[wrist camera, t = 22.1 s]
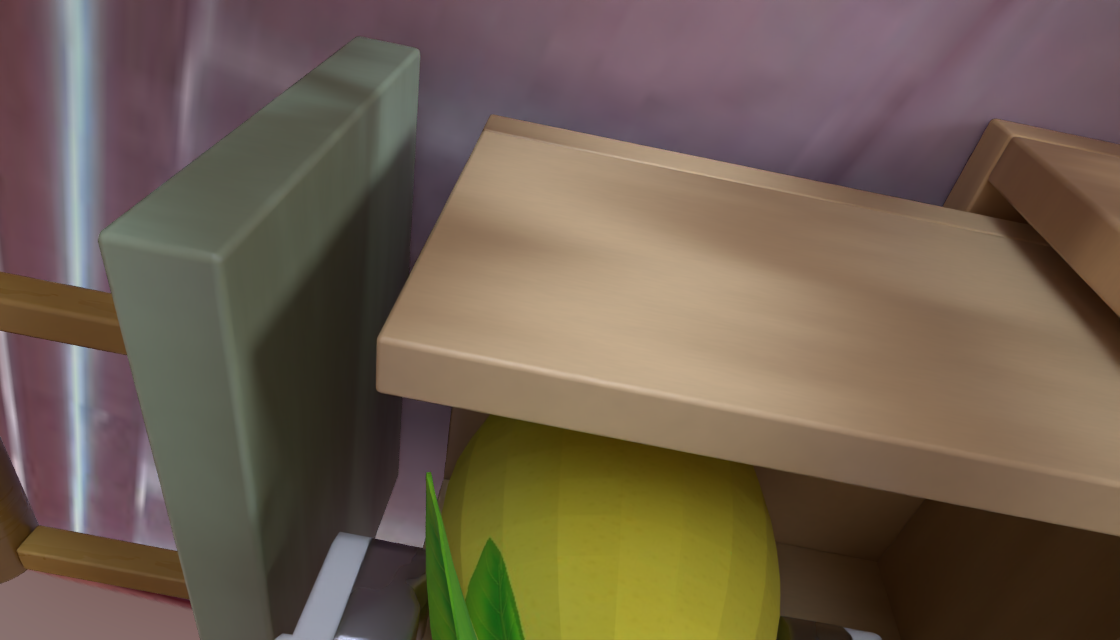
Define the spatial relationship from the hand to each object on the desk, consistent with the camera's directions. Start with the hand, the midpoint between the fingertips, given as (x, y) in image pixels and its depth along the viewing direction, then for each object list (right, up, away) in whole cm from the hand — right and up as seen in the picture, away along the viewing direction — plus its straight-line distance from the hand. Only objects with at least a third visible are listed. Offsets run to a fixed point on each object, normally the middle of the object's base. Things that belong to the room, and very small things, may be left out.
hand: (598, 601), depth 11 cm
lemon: (+1, +3, +4) cm, 5 cm away
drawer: (-1, +4, +5) cm, 7 cm away
